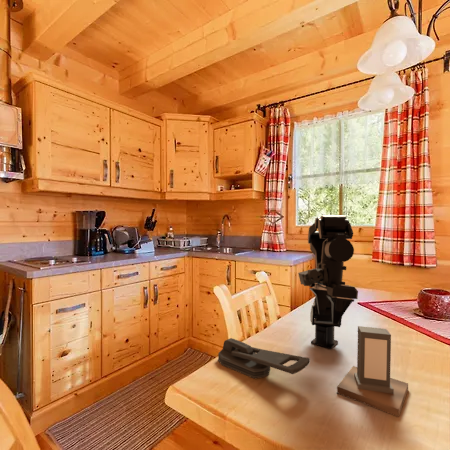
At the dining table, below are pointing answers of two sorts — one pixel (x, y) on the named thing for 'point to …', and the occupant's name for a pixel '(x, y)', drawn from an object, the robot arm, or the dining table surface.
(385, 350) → the picture frame
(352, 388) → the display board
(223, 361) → the zipper pull
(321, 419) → the dining table surface
